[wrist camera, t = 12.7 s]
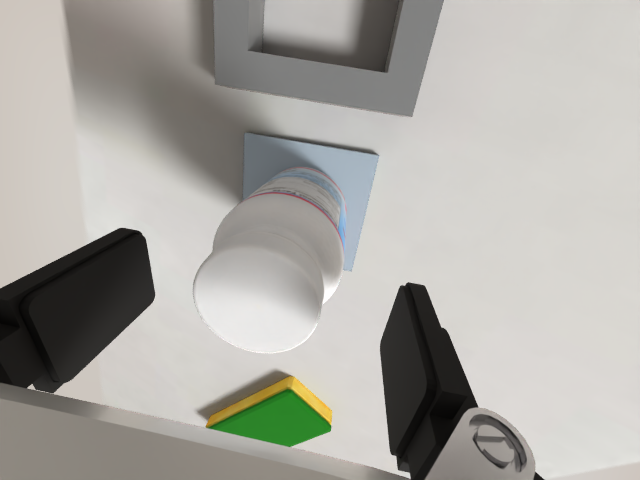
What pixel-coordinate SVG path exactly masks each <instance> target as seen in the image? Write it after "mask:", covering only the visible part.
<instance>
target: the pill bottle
mask: <svg viewBox="0 0 640 480" xmlns="http://www.w3.org/2000/svg"><path fill="white" fill-rule="evenodd" d="M345 233H346V202H345V198H344V195H343V193H342V191H341V189H340V188H339V187H338V185H337V184H336V183H335V182H334V181H333V180H332V179H331V178H330V177H328V176H327V175H326V174H324V173H322V172H320V171H318V170H315V169H312V168H308V167H293V168H289V169H286V170H284V171H282V172H280V173H278V174H277V175H275V176H274V177H273V178H271V179H270V180H269V181H268V182H266V183H265V184H264V185H262V186H261V187H260V188H259V189H257V190H256V191H255V192H254V193H252V194H251V195H250V196H249V197H247V198H246V199H245V200H243V201H242V202H241V203H240V204H238V205H237V206H236V207H235V208H234V209H233V210H231V211H230V212H229V213H228V214H227V215H226V217H225V218H224V219H223V220H222V222H221V224H220V225H219V227H218V229H217V232H216V234H215V238H214V242H213V251H212V253H211V254H210V255H209V256H208V258H207V259H206V260H205V261H204V262H203V263H202V265H201V266H200V268H199V269H198V271H197V273H196V276H195V280H194V284H193V297H194V302H195V306H196V308H197V311H198V313H199V315H200V317H201V318H202V320H203V321H204V322H205V324H206V325H207V326H208V327H209V328H210V330H211V331H213V332H214V333H215V334H216V335H217V336H218V337H220V338H221V339H223V340H224V341H226V342H227V343H229V344H231V345H233V346H235V347H238V348H241V349H244V350H247V351H251V352H257V353H278V352H283V351H287V350H290V349H292V348H294V347H296V346H298V345H300V344H301V343H303V342H304V341H305V340H306V339H307V338H308V337H309V336H310V335H311V334H312V332H313V331H314V329H315V328H316V326H317V323H318V321H319V317H320V313H321V307H322V304H324V303H325V302H326V301H327V300H328V299H329V298H330V297H331V296H332V294H333V293H334V291H335V290H336V288H337V286H338V284H339V282H340V280H341V277H342V273H343V266H344V253H345Z"/></svg>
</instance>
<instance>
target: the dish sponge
mask: <svg viewBox="0 0 640 480" xmlns="http://www.w3.org/2000/svg"><path fill="white" fill-rule="evenodd" d="M331 421H332V410H331V409H330V408H328V407H327V406H326V405H325V404H324V403H323V402H322V401H321V400H320V399H318V398H317V397H316V396H315V395H314V394H313V393H312V392H311V391H310V390H308V389H307V388H306V387H305V386H304V385H303V384H302V383H301V382H300V381H298V380H297V379H296V378H295V377H292V376H289V377H287V378H285V379H283V380H281V381H279V382H277V383H275V384H273V385H271V386H269V387H267V388H265V389H263V390H261V391H259V392H257V393H255V394H253V395H251V396H249V397H247V398H245V399H243V400H241V401H239V402H237V403H235V404H233V405H231V406H229V407H227V408H225V409H223V410H221V411H219V412H217V413H215V414H213V415H211V416H210V418H209V421H208V423H207V425H206V428H208V429H213V430H217V431H221V432H226V433H230V434H235V435H239V436H243V437H248V438H252V439H256V440H261V441H265V442H270V443H274V444H278V445H283V446H287V447H291V446H294V445H296V444H299V443H301V442H304V441H307V440H309V439H312V438H314V437H317V436H320V435H322V434H325V433H327V432H330V431H331Z"/></svg>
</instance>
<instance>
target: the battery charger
mask: <svg viewBox="0 0 640 480" xmlns="http://www.w3.org/2000/svg"><path fill="white" fill-rule="evenodd" d="M264 1H265V0H213V8H214V59H215V84H216V85H220V86H225V87H229V88H234V89H240V90H246V91H252V92H258V93H264V94H270V95H276V96H282V97H289V98H295V99H301V100H307V101H313V102H319V103H325V104H331V105H337V106H343V107H349V108H355V109H361V110H367V111H373V112H380V113H386V114H392V115H398V116H404V117H412V115H413V112H414V108H415V104H416V101H417V97H418V93H419V90H420V86H421V82H422V79H423V75H424V71H425V68H426V64H427V60H428V56H429V53H430V49H431V45H432V42H433V38H434V34H435V31H436V27H437V23H438V20H439V16H440V12H441V9H442V5H443V1H444V0H399V5H398V9H397V14H396V19H395V23H394V28H393V33H392V37H391V42H390V46H389V51H388V56H387V60H386V65H385V70H384V72H378V71H372V70H365V69H359V68H353V67H347V66H340V65H334V64H328V63H322V62H315V61H309V60H303V59H297V58H291V57H284V56H278V55H272V54H266V53H262V45H263V23H264Z"/></svg>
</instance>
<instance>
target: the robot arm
mask: <svg viewBox="0 0 640 480" xmlns="http://www.w3.org/2000/svg"><path fill="white" fill-rule="evenodd" d="M154 298H155V290H154V284H153V279H152V273H151V267H150V261H149V255H148V249H147V243H146V239H145V237H144V236H142V233H141V232H140V231H137V230H132V229H127V228H119V229H117V230H115V231H113V232H111V233H109V234H107V235H105V236H103V237H101V238H99V239H97V240H95V241H93V242H91V243H89V244H87V245H85V246H83V247H81V248H80V249H78V250H76V251H74V252H72V253H70V254H68V255H66V256H64V257H62V258H60V259H58V260H56V261H54V262H52V263H50V264H48V265H46V266H44V267H42V268H40V269H38V270H36V271H34V272H32V273H30V274H28V275H26V276H24V277H22V278H20V279H18V280H16V281H14V282H13V283H10V284H8V285H6V286H4V287H2V288H0V480H544V479H543V478H542V477H541V476H540V475H538V474H537V473H536V472H535V460H534V457H533V454H532V451H531V449H530V447H529V445H528V444H527V442H526V440H525V439H524V437H523V436H522V435H521V434H520V433H519V431H518V430H517V429H516V428H515V427H514V426H513V425H512V424H510V423H509V422H508V421H507V420H506V419H504V418H503V417H501V416H500V415H498V414H497V413H495V412H492V411H490V410H487V409H485V408H478V405H477V403H476V400H475V398H474V395H473V393H472V390H471V388H470V385H469V383H468V381H467V378H466V376H465V373H464V371H463V368H462V366H461V363H460V361H459V359H458V356H457V354H456V351H455V349H454V346H453V344H452V341H451V339H450V336H449V334H448V332H447V330H446V329H444V328H441V326H440V323H439V320H438V318H437V315H436V313H435V310H434V308H433V305H432V302H431V300H430V297H429V295H428V292H427V289H426V287H425V286H424V285H419V284H414V283H409V282H408V283H407V284H406V285H405V286H402V285H401V286H400V288H399V290H398V293H397V296H396V299H395V302H394V305H393V308H392V310H391V313H390V316H389V319H388V322H387V325H386V328H385V330H384V333H383V336H382V339H381V344H380V354H381V364H382V374H383V384H384V395H385V405H386V415H387V425H388V435H389V446H390V452H391V454H392V455H395V456H396V457H397V466H398V470H400V471H405V472H409V473H410V476H411V479H409V478H406V477H403V476H399V475H396V474H393V473H389V472H386V471H383V470H380V469H376V468H373V467H369V466H365V465H361V464H357V463H353V462H349V461H345V460H341V459H337V458H333V457H329V456H325V455H321V454H317V453H313V452H309V451H305V450H300V449H296V448H291V447H287V446H283V445H278V444H274V443H270V442H265V441H261V440H256V439H252V438H248V437H243V436H239V435H235V434H230V433H226V432H221V431H217V430H213V429H208V428H204V427H199V426H195V425H190V424H186V423H181V422H177V421H172V420H168V419H163V418H159V417H154V416H150V415H146V414H141V413H136V412H132V411H127V410H123V409H118V408H114V407H109V406H105V405H100V404H96V403H91V402H87V401H82V400H77V399H73V398H68V397H63V396H59V395H54V394H50V393H54V392H55V391H56V390H57V389H58V388H59V387H60V386H62V384H63V383H66V382H68V381H70V380H72V379H73V378H74V377H75V376H76V375H77V374H78V373H79V372H80V371H81V370H82V369H83V368H84V367H86V365H88V364H89V363H90V362H91V361H92V360H93V359H94V358H95V357H96V356H97V355H98V354H99V353H100V352H101V351H102V350H103V349H104V348H105V347H107V346H108V345H109V344H110V343H111V342H112V341H113V340H114V339H115V338H116V337H117V336H118V335H119V334H120V333H121V332H122V331H123V330H124V329H125V328H126V327H128V326H129V325H130V324H131V323H132V322H133V321H134V320H135V319H136V318H137V317H138V316H139V315H140V314H141V313H142V312H143V311H144V310H145V309H146V308H147V307H148V306H150V305H151V303H152V302H153V301H154ZM31 384H33V386H34V387H35V389H36V390H40V391H45V392H49V393H45V392H40V391H36V390H31V389H27V387H28V386H30V385H31Z"/></svg>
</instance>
